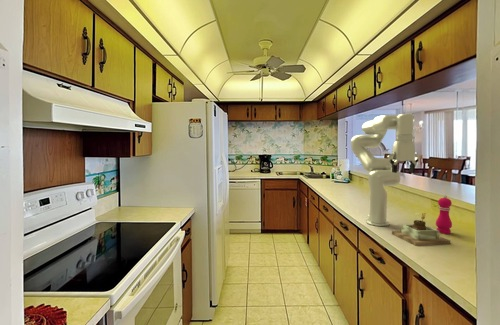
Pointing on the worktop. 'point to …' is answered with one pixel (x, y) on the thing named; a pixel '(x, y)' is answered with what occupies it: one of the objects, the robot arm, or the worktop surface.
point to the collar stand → (420, 236)
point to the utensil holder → (419, 223)
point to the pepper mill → (444, 216)
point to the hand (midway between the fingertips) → (403, 172)
